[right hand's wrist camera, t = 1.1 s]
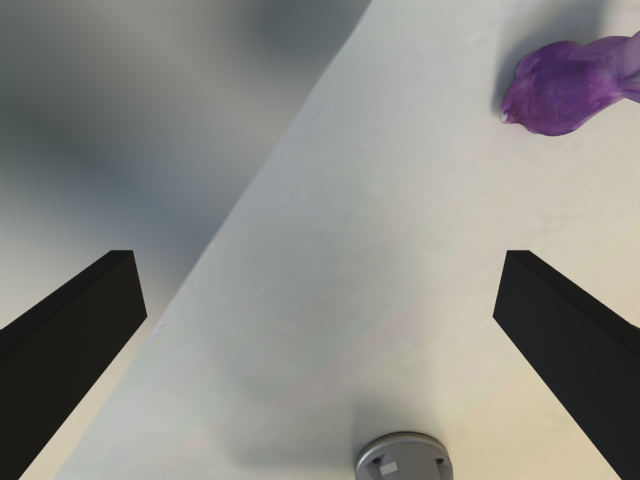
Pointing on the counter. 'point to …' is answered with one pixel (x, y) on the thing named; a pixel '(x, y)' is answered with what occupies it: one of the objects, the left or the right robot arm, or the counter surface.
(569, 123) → the figurine
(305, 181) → the counter surface
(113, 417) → the counter surface
